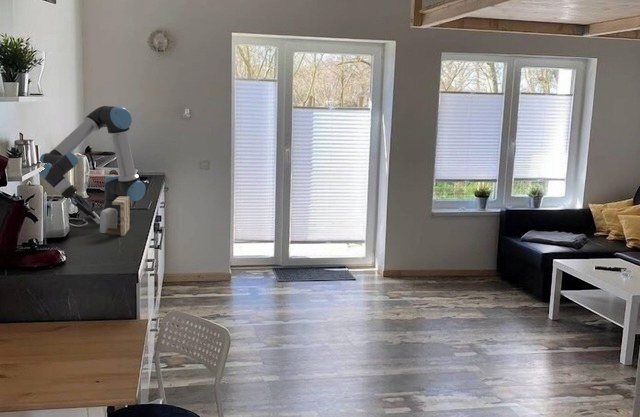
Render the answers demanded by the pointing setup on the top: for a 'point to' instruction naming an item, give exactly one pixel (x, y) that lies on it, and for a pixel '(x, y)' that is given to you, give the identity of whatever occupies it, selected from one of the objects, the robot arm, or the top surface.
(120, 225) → the shelf
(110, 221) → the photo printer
